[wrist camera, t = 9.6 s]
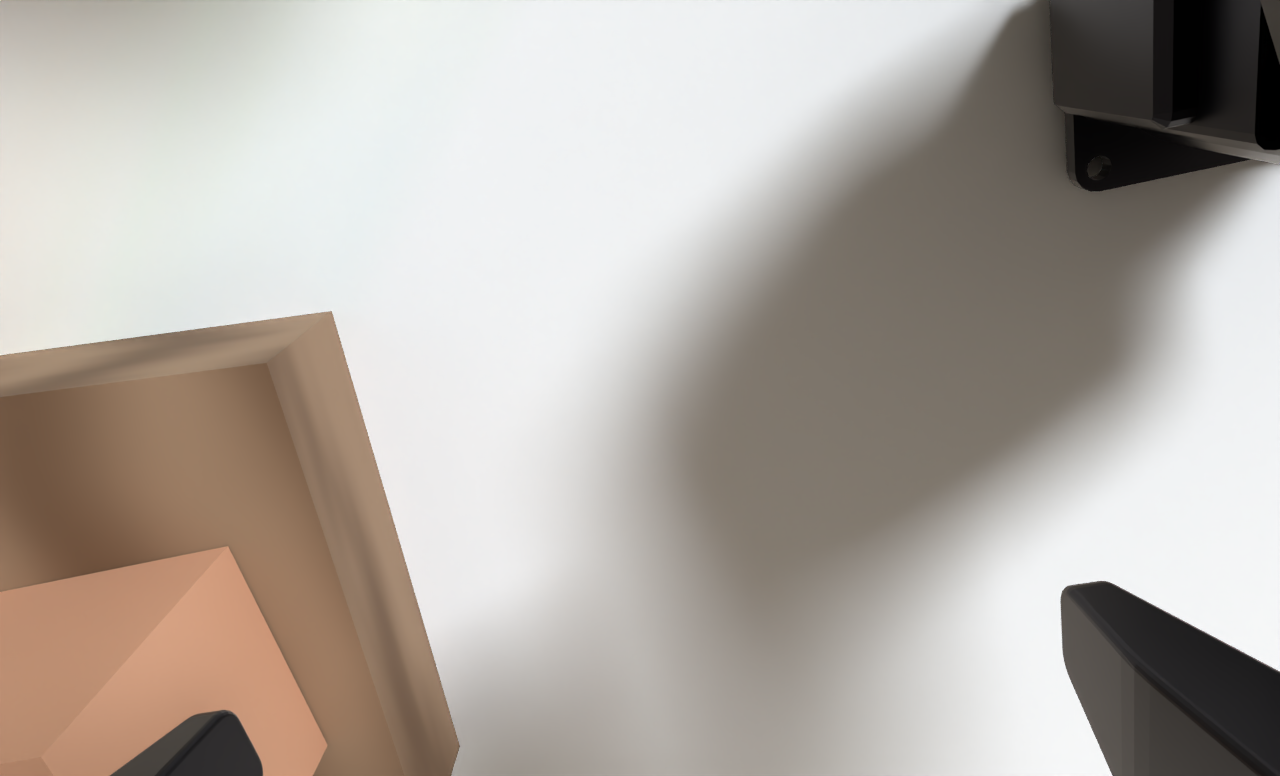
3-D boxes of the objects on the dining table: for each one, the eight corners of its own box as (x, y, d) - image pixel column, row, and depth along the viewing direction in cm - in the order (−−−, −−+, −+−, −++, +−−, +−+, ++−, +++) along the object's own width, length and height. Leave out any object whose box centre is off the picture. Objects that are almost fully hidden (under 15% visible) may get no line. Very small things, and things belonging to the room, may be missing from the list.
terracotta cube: (227, 546, 19) (41, 757, 13) (328, 745, 21) (203, 998, 15) (-6, 593, 19) (-276, 811, 14) (113, 781, 22) (-79, 1034, 16)
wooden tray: (338, 305, 21) (266, 363, 17) (463, 734, 26) (429, 849, 22) (-33, 355, 22) (-177, 419, 18) (160, 760, 27) (79, 875, 23)
